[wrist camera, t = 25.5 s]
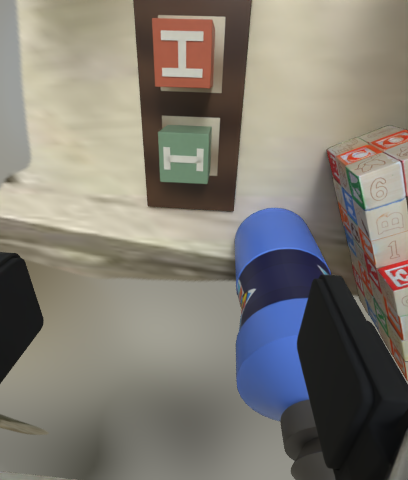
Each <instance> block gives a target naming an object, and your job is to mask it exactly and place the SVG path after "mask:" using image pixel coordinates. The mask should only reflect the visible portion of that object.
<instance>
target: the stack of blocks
mask: <svg viewBox="0 0 408 480" xmlns="http://www.w3.org/2000/svg"><path fill="white" fill-rule="evenodd" d="M327 154H328V158H329V162H330V166H331V170H332V175H333V178H332V179H333V183H334V188H335V192H336V196H337V200H338V206H339V210H340V215H341V219H342V223H343V224H344V229H345V234H346V238H347V243H348V245H349V251H350V255H351V260H352V263H353V264H352V267H353V272H354V276H355V281H356V286H357V291H358V295H359V299H360V301H361V303H362V305H363V306H364V308H365V310H366V312H367V313H368V315H369V316H370V317H371V319H372V321H373V322H374V324H375V326H376V327H377V329H378V331H379V333H380V335H381V337H382V339H383V340H384V342H385V344H386V346H387V347H388V349H389V351H390V352H391V354H392V355H393V357H394V359H395V361H396V362H397V364H398V366H399V368H400V369H401V371H402V373H403V375H404V376H405V378H406V380H407V381H408V130H404V129H402V128H398V127H394V126H391V125H388V126H385V127H383V128H380V129H378V130H375V131H372V132H370V133H367V134H364V135H362V136H359V137H357V138H353V139H351V140H348V141H345V142H343V143H340V144H338V145H335V146H333V147H331V148H329V149H327Z"/></svg>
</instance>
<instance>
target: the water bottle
mask: <svg viewBox="0 0 408 480" xmlns="http://www.w3.org/2000/svg"><path fill="white" fill-rule="evenodd" d="M235 268H236V289H237V295H238V298H239V302H240V306H241V309H242V310H241V319H240V328H239V333H238V335H237V340H236V377H237V388H238V391H239V394H240V396H241V398H242V399H243V400H244V401H245V403H246V404H247V405H248V406H249V407H251V408H252V409H253V410H254V411H256V412H258V413H259V414H261V415H263V416H265V417H268V418H270V419H273V420H277V421H281V429H282V436H283V442H284V449H285V452H286V454H287V455H288V456H289V457H290V458H291V459H293V460H294V461H295V462H294V464H293V465H292V467H291V474H292V476H293V477H294V478H295V479H296V480H336V479H335V475H334V471H333V469H330V468H328V467H327V466H326V464H325V461H324V457H323V453H322V449H321V445H320V441H319V437H318V433H317V429H316V425H315V421H314V417H313V413H312V408H311V404H310V400H309V396H308V392H307V388H306V384H305V380H304V376H303V372H302V368H301V364H300V360H299V356H298V351H297V338H298V334H299V330H300V326H301V323H302V319H303V315H304V311H305V307H306V304H307V300H308V296H309V292H310V288H311V285H312V281H313V279H318V278H319V276H320V275H322V274H324V275H331V272H330V270H329V268H328V266H327V264H326V262H325V260H324V258H323V256H322V254H321V252H320V250H319V248H318V246H317V244H316V242H315V240H314V238H313V236H312V234H311V232H310V230H309V228H308V226H307V224H306V223H305V222H304V220H303V219H302V218H301V217H300V216H298V215H297V214H295V213H294V212H292V211H289V210H286V209H281V208H268V209H264V210H260V211H258V212H256V213H253V214H252V215H250V216H249V217H248V218H246V219H245V220H244V221H243V222H242V224H241V225H240V227H239V228H238V230H237V233H236V236H235Z"/></svg>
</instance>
